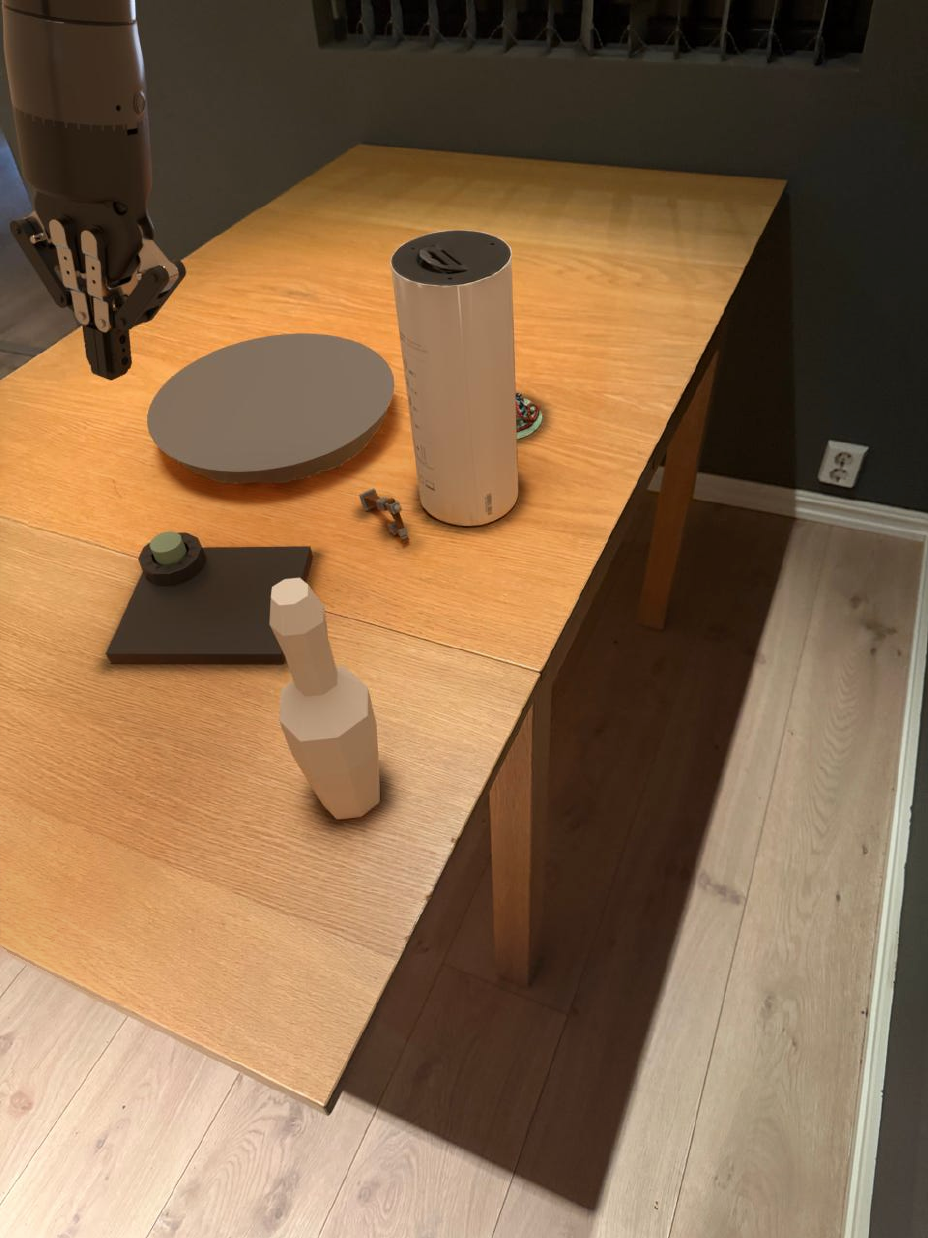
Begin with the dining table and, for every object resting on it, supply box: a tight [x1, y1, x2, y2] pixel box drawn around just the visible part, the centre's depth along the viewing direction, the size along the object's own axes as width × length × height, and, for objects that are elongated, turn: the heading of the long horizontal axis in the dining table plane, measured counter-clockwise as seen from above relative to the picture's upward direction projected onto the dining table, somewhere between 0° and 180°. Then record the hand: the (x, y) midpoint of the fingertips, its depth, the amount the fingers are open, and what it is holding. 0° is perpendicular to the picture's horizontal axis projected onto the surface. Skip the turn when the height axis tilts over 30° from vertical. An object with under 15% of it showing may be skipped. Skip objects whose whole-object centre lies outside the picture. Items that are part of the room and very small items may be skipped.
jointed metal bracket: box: [358, 487, 410, 543], centre depth 89 cm, size 2×8×4 cm, turn 32°
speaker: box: [389, 229, 519, 527], centre depth 83 cm, size 11×10×26 cm
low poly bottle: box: [270, 578, 381, 820], centre depth 60 cm, size 6×6×22 cm
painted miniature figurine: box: [516, 392, 543, 440], centre depth 101 cm, size 8×7×8 cm
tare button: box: [149, 530, 187, 565], centre depth 84 cm, size 3×3×2 cm
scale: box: [105, 531, 314, 665], centre depth 82 cm, size 16×14×3 cm
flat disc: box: [146, 332, 395, 485], centre depth 101 cm, size 28×28×4 cm
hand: (111, 373), depth 63 cm, fingers closed
